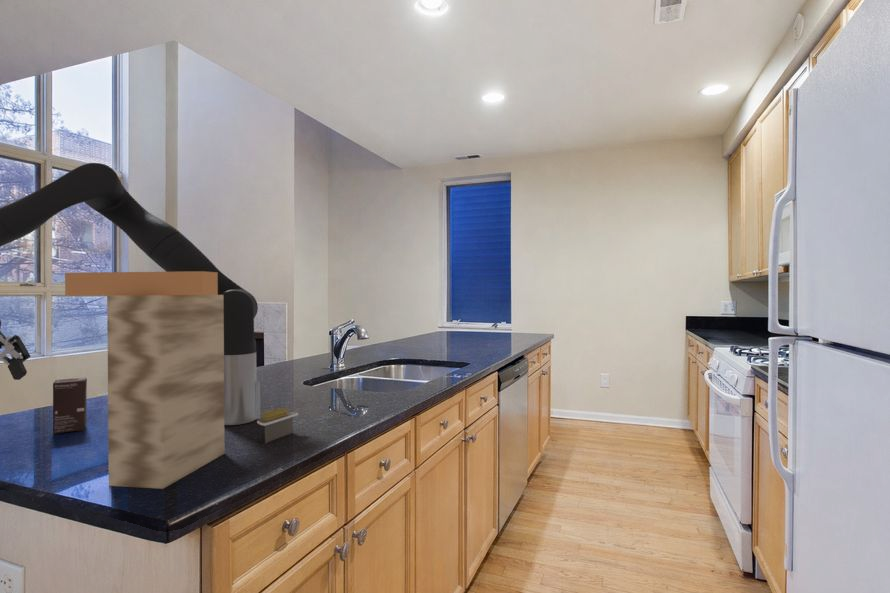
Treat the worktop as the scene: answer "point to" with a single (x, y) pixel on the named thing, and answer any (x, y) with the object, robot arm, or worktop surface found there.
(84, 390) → the box
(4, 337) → the robot arm
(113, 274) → the rail
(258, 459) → the worktop surface
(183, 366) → the tall wooden block
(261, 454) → the worktop surface
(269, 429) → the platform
